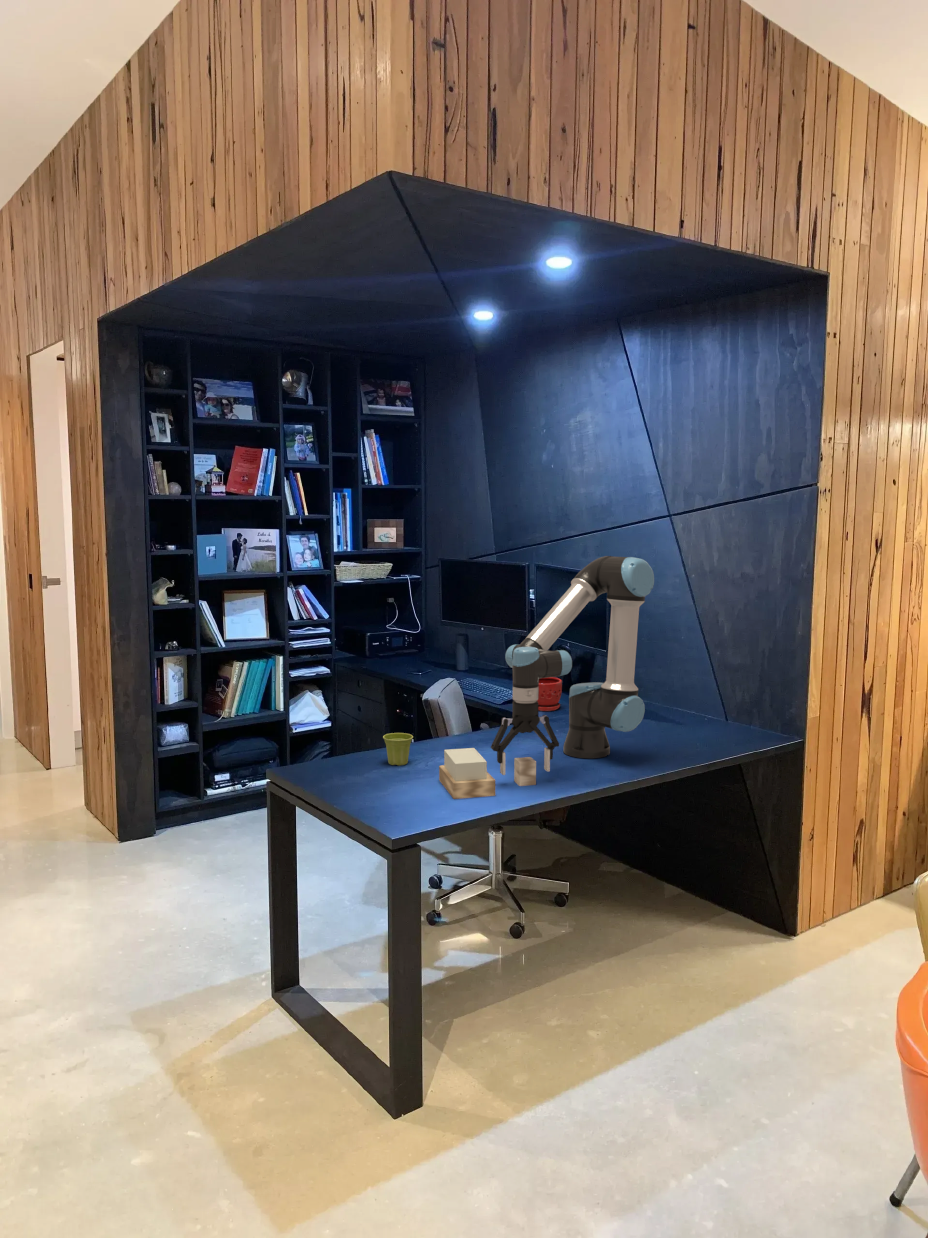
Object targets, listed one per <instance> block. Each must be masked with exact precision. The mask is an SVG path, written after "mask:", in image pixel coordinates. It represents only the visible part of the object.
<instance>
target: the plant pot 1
mask: <svg viewBox="0 0 928 1238" xmlns="http://www.w3.org/2000/svg"><path fill="white" fill-rule="evenodd" d="M382 739H383V740H384V743H385V747H386V757H387V762H388V765H391V766H395V765H397V766H400V767H401V766H405V765H407V764H408V763H409V757H410V756H409V755H410V749H411V743H412V741H413V739H414V736H413V735H412V734H410V733H406V732H405V733H404V732H394V733H393V732H391V733H386V734H384V735H383V736H382Z"/></svg>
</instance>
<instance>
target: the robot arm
mask: <svg viewBox="0 0 928 1238" xmlns="http://www.w3.org/2000/svg"><path fill="white" fill-rule="evenodd" d="M570 584H571V585H570V587H569V588H568V589H567V590H566V591H565V593H564V594H562V596H560V598H559V599H558V601H556V602H555V604H554V605H553V606H552V608H551V609H550V610H549V611H548V612H547V613H546V614H545V615H544V616H543V618H542V619H541V620H540V621H539V623H538V624H537V625H536V626H535V627H534V628H533V629H532V630H531V631H530V633H529V634H528V635H527V636H526V637H525V639H523V640H522V642H520V644H519V643H517V644H512V645H510V646H509V647H508V648H507V649H506V651H505V657H504V658H505V661H506V664H507V666H509V668H512V717H511V718H506V717H505V716H504V717H501V723H500V724H501V725H500V726H499V728H498V730H497V733H496V735H495V737H494V739H493V741H492V743H491V746H490V749H491V750H492V751H493V752H496V760H497V761H496V762H497V763H498V764H499V773H500V774H501V775H502V776H505V775H506V752H505V750H506V749H507V747H508V745H509V744H510V743H511V742H512V741H513V740H514V738H515V736H518V734H519V733H520V734H524V733H531V734H532V732H534V733H535V734H536V735H537V737H538V738H539V739H540V741H542V742H543V743H544V745H546V747H544V749H543V750H544V755H543V756H544V757H543V758H544V759H543V760H544V761H543V762H544V763H543V769H544V770H545V771H546V772H550V771H551V760H553V759H554V750H555V748H557V747H558V748H559V747H560V743H559V741H558V738H557V736H556V734H555V732H554V730H553V728H552V726H551V724H550V717H549V716H548V715H546V714H543V715H542V716H539V710H538V701H537V700H538V692H539V679H541V678H548V677H555V678H558V677H561V676H565V675H568V674H569V673H570V672H571V670H572V668H573V660H572V656H571V654H570V653H569V652H568V651H567V650H564V649H563V650H558V649H556V650H549V649H550V648H551V647H552V645H553V644H554V643H555V642H556V641H557V639H558V638H559V637H560V636H561V635H562V634H563V633H564V632H565V630H566V629H567V628H568V627H569V625H570V624H571V623H572V622H573V621H574V620H575V619H576V618H577V617H578V615H579V614H580V613H581V612H582V610H583V609H584V608H585V607H586V605H588V603H589V602H594V601H595V600H596V599H597V598H598V597H599V596H600V595H602V594H605V593H606V595H607V596H606V600H607V601H608V602H609V604H610V605H611V607H610V619H609V620H610V621H609V622H610V624H609V634H608V636H609V637H608V647H607V648H608V649H607V650H608V651H607V661H606V665H607V666H606V677H605V681H604V682H599V681H598V682H596V681H595V682H581V683H576V684H573V685H571V686H570V688H569V696H568V731H567V734H566V737H565V741H564V744H563V753H564V754H565V755H566V756H569V757H572V758H579V759H600V758H605V757H607V755H608V756H609V755H610V753H611V747H610V742H609V740H608V736H607V733H606V728H608V729H612V730H614V731H616V732H624V733H628V732H631V731H633V730H635V729H636V728H638V726H639V725H640V724H641V722H642V721H643V719H644V715H645V713H646V712H645V711H646V710H645V709H646V708H645V707H646V705H645V703H644V700H643V699H642V698H641V697H639V696H638V695H639V687H637V685H636V684H635V673H636V671H635V669H636V657H637V656H636V655H637V646H638V645H637V642H638V627H639V617H640V615H639V613H640V607H641V606H642V605H643V604H644V603H645V602H646V596H648V595H649V594H650V593H651V591H652V590H653V589H654V584H655V575H654V570H653V569H652V566H650V564H649V562H647V561H646V560H644V559H643V558H638V557H634V556H626V557H625V556H612V555H604V556H601V557H597V558H596V559H594V560H592V561H591V562H589V563H588V564H587V565H586V566H584V567H583V568H582V569H581V570H580V571H579V572H578V573H577V574H576V575H575V576H574V578H573V579H572V580H571V581H570ZM539 723H541V724H543V727H544V729H545V730H546V733H547V734H548V736H549V738H550V740H549V739H548V738H547V737H546V735H544V733H543V732H542V731H541V730H540V729H539V727H538V724H539ZM510 724H512V727H511V728H510V730H509V732H508V733H507V734H506V736H505V733H506V731H507V729H508V727H509V726H510ZM504 736H505V737H504ZM503 737H504V738H503Z"/></svg>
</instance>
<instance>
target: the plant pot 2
mask: <svg viewBox="0 0 928 1238" xmlns="http://www.w3.org/2000/svg"><path fill="white" fill-rule="evenodd" d="M562 683H563V680H562V679H560V678H558V677H548V678H541V679H539V692H538V700H537V701H538V712H539V711H541V712H551V711H556V710H558V709H559V708H560V706H561V704H560V703H559V702H560V699H561V696H562V693H563V691H562V690H563V684H562Z"/></svg>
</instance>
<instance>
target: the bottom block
mask: <svg viewBox="0 0 928 1238" xmlns="http://www.w3.org/2000/svg"><path fill="white" fill-rule="evenodd" d="M438 774H439V775H438V779H439V782H440V783H441V785H442V786H443V787H444V789H445V790H446V791H447V793H448V794H449V795H450V796H451V798H452V799H453V800H460V799H471V798H482V797H483V798H484V797H494V796H495V797H496V779H495V778H494V777H493V776H492V775H491V774H490V773H489V772H488V771H487V779H481V780H467V781H455V780H454V779H453V777H452V776H451V775H450V773H449V772H448V771H447V769H446V768H445V767H444V764H442V765H439V766H438Z"/></svg>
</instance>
